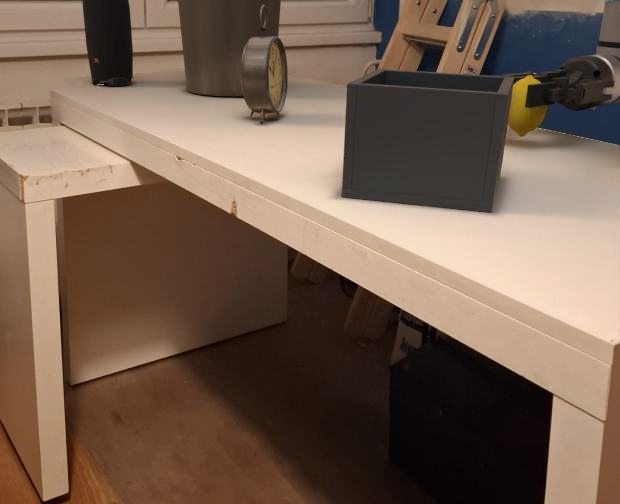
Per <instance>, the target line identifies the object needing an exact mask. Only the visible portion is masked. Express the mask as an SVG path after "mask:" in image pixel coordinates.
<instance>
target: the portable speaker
mask: <svg viewBox="0 0 620 504" xmlns="http://www.w3.org/2000/svg"><path fill="white" fill-rule="evenodd" d="M82 12H83V25H84V34H85V35H84V37H85V46H86V52H87V59H88V65H89V71H90V76H91V77H90V78H91V83H92V84H93V85H94V86H95V85H97V84H98V83H101V82H102V83H103V82H105V83H106V85H107V86H108V87H123V86H124V87H127V86H129V84H131V83H132V80H133V79H134V54H133V53H134V48H133V47H134V46H133V33H132V19H131V7H130V1H129V0H82Z"/></svg>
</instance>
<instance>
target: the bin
mask: <svg viewBox="0 0 620 504" xmlns="http://www.w3.org/2000/svg"><path fill="white" fill-rule="evenodd" d="M513 83H514V77H504V76H497V75H488V74H487V75H486V74H473V73H472V74H471V73H469V74H468V73H455V72H437V71H421V70H405V69H390V68H389V69H388V68H387V69H386V68H377V69H375V70H373V71H370V72H369V73H367V74H364V75H362V76H361V77H359V78H356V79H354V80H352V81H350V82H349V83H346V98H345V101H346V102H345V120H344V121H345V122H344V138H343V139H344V141H343V159H342V161H343V162H342V179H341V180H342V181H341V187H342V188H341V198H347V199H358V200H367V201H375V202H376V201H377V202H387V203H397V204H404V205H416V206H423V207H433V208H434V207H435V208H443V209H454V210H462V211H463V210H464V211H473V212H483V213H492V211H493V209H494V205H495V200H496V196H497V192H498V188H499V184H500V180H501V175H502V169H503V168H502V167H503V161H504V153H505V147H506V140H507V132H508V127H509V126H508V119H509V112H510V105H511V97H512V90H513Z"/></svg>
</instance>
